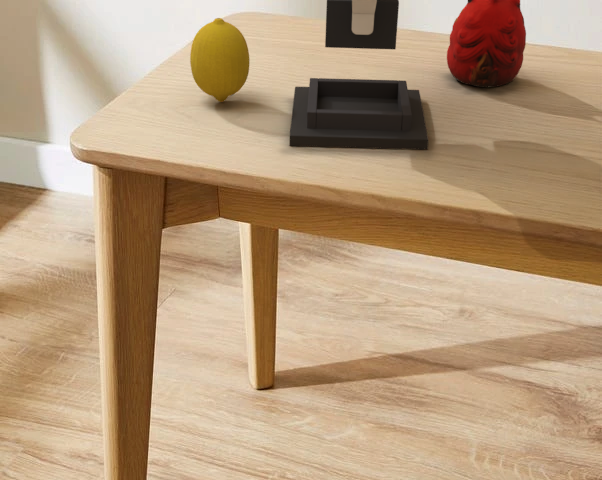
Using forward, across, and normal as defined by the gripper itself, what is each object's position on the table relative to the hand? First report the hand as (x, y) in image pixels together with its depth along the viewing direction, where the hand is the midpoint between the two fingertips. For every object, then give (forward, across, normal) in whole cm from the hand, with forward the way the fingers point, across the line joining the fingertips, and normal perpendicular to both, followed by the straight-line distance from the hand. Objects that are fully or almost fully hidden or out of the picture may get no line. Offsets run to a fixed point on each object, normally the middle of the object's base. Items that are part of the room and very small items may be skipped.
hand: (361, 20), depth 85 cm
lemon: (+10, +4, +13) cm, 17 cm away
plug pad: (+2, 0, 0) cm, 2 cm away
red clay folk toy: (+10, +12, -13) cm, 20 cm away
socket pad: (+9, 0, 0) cm, 9 cm away
